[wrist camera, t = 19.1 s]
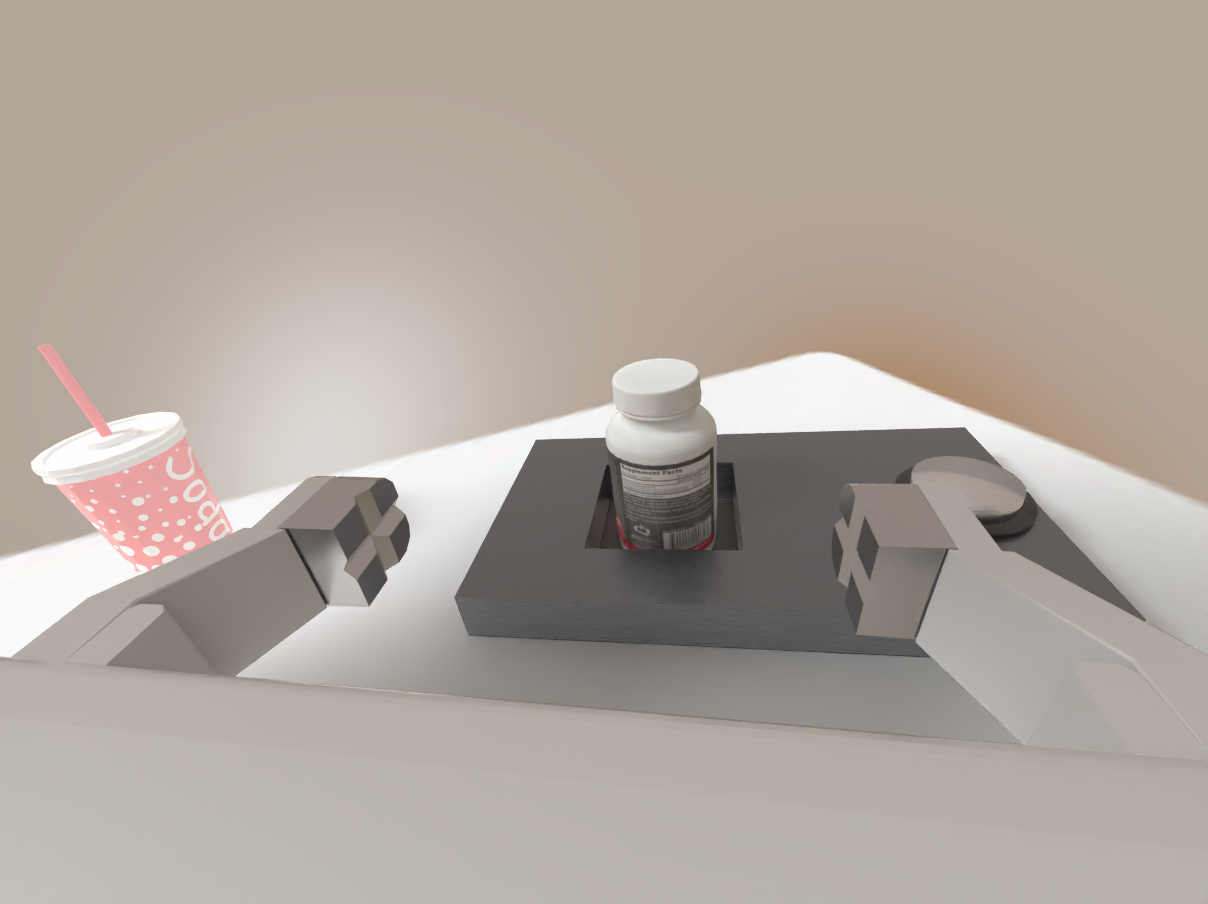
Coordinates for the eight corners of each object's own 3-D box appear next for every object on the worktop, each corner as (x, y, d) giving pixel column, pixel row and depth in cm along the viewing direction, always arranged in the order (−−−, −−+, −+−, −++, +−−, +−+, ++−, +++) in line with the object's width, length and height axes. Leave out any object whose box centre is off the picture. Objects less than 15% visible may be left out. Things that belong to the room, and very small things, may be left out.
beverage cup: (203, 607, 28) (23, 365, 20) (110, 605, 29) (-91, 374, 22) (278, 533, 33) (156, 320, 26) (198, 534, 34) (59, 328, 27)
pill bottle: (630, 505, 31) (613, 353, 26) (720, 511, 30) (720, 350, 25) (608, 568, 27) (583, 398, 22) (713, 578, 25) (711, 399, 20)
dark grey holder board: (468, 635, 24) (447, 579, 22) (542, 470, 36) (533, 425, 34) (1117, 665, 19) (1159, 597, 17) (954, 463, 31) (969, 410, 29)
